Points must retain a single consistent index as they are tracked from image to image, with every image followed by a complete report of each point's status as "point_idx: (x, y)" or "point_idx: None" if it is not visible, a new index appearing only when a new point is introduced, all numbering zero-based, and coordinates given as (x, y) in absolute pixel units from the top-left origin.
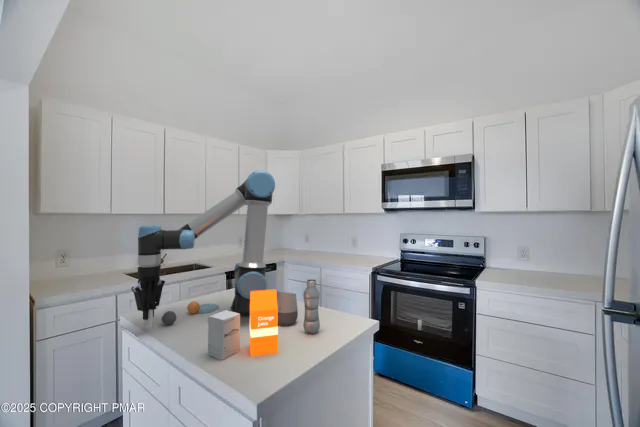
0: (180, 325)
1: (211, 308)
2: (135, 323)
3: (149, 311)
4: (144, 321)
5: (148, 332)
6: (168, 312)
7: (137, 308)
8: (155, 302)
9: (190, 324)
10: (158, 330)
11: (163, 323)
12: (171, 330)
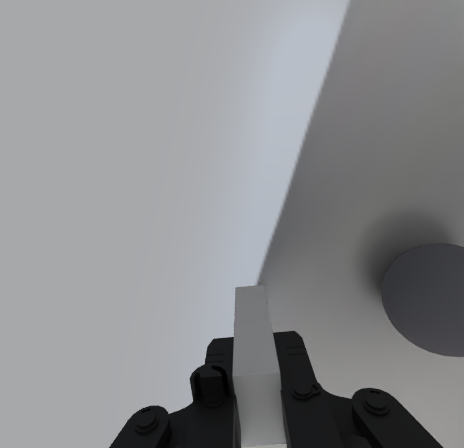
0: (423, 351)
1: None
2: (352, 9)
3: (241, 440)
4: (236, 313)
5: (267, 268)
6: (461, 336)
7: (117, 440)
8: (409, 432)
9: (455, 391)
10: (313, 296)
11: (384, 276)
12: (341, 364)
